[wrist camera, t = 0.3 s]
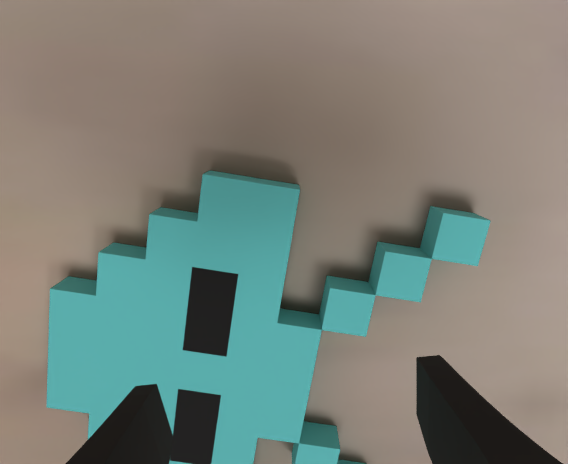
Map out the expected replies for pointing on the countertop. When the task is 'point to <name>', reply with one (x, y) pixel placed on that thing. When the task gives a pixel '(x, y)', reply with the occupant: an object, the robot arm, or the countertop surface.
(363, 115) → the countertop surface
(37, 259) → the countertop surface
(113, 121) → the countertop surface
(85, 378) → the alien figure
